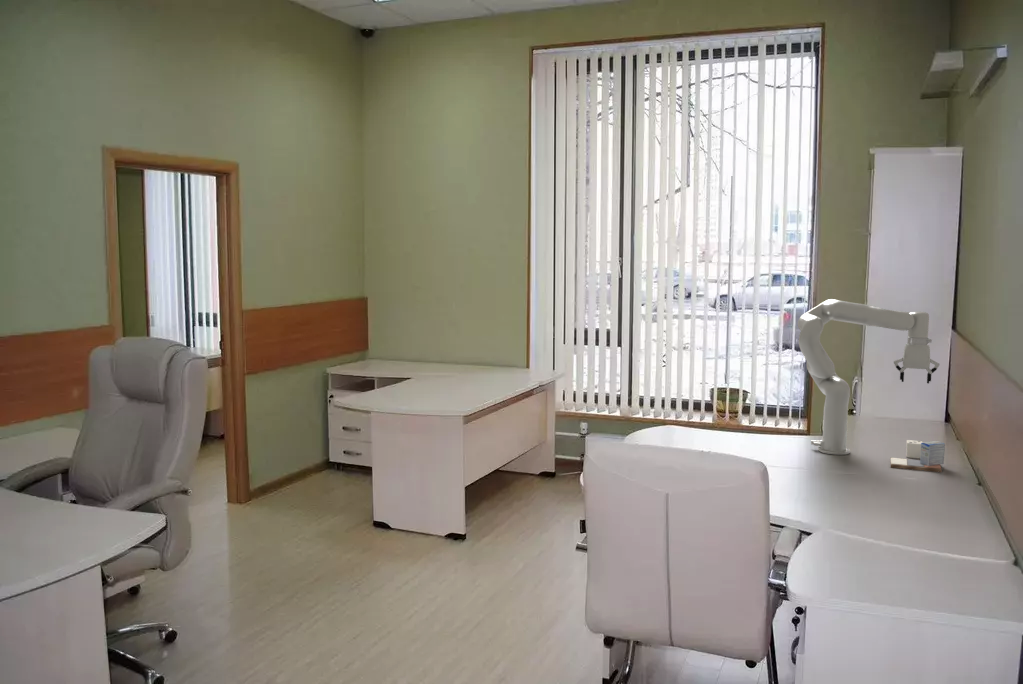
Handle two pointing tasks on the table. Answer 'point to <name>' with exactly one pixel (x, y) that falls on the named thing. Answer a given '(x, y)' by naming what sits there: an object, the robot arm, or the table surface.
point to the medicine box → (932, 453)
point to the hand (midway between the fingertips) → (915, 382)
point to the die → (913, 449)
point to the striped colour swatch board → (913, 465)
